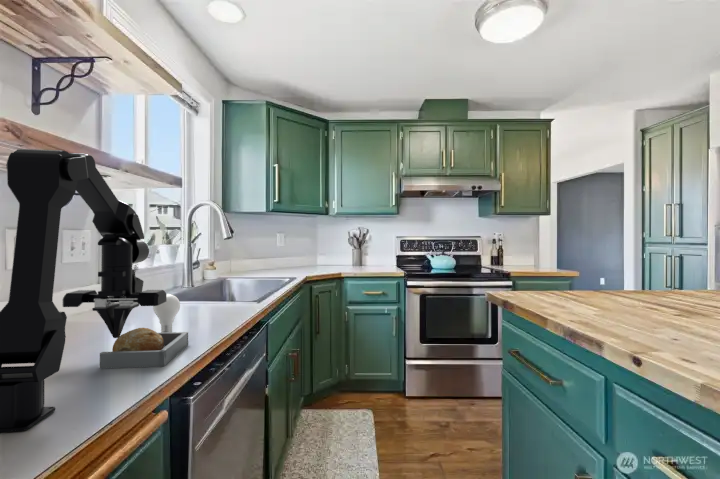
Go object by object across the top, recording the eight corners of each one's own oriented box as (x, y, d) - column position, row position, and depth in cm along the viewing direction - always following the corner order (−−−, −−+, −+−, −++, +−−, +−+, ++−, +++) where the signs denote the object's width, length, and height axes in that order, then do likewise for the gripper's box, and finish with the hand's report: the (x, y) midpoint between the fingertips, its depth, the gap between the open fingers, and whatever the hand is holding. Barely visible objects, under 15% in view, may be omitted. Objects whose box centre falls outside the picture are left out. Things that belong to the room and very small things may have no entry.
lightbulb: (172, 339, 98) (172, 296, 98) (147, 338, 98) (148, 295, 98) (184, 332, 104) (184, 292, 104) (161, 332, 104) (161, 292, 104)
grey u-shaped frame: (164, 366, 78) (164, 351, 78) (99, 368, 76) (99, 353, 76) (188, 344, 93) (188, 331, 93) (135, 345, 92) (135, 333, 92)
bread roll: (108, 379, 80) (103, 349, 77) (121, 346, 89) (117, 318, 86) (161, 375, 83) (158, 346, 80) (168, 343, 92) (166, 316, 88)
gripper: (174, 263, 93) (174, 328, 93) (91, 263, 90) (90, 329, 91) (157, 267, 82) (156, 340, 82) (61, 267, 79) (60, 342, 79)
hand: (116, 337), depth 84 cm, fingers closed
